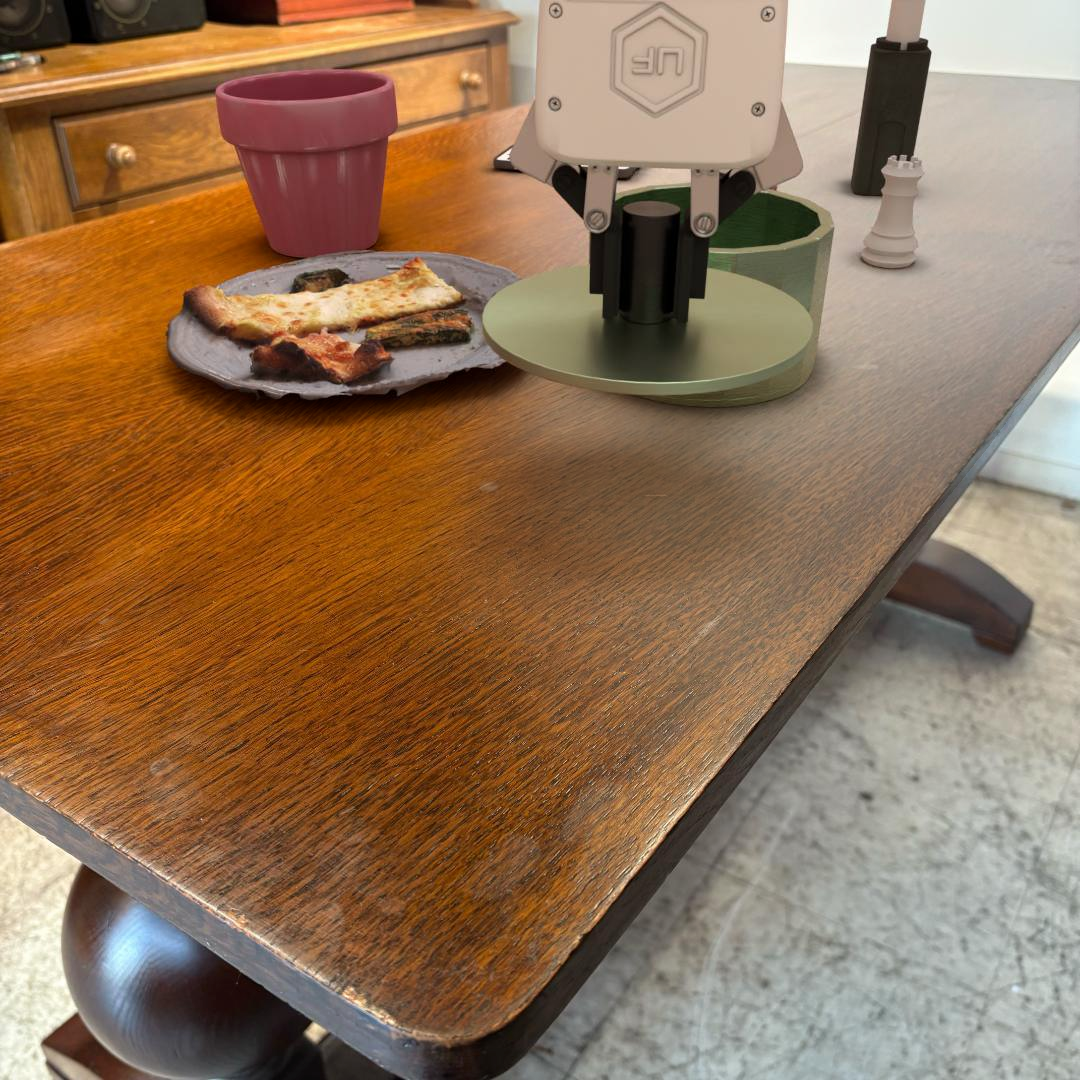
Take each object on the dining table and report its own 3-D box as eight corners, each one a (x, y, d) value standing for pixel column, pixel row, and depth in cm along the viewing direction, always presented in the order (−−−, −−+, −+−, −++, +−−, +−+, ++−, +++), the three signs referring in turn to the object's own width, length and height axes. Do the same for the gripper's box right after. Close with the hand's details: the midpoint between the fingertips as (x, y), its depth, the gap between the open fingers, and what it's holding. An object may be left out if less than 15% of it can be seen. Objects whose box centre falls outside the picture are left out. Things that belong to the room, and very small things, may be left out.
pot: (801, 309, 79) (818, 176, 74) (825, 434, 63) (850, 273, 58) (601, 300, 81) (605, 169, 76) (572, 420, 64) (574, 262, 59)
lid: (798, 289, 58) (814, 170, 55) (823, 418, 45) (846, 273, 42) (509, 277, 60) (507, 161, 56) (453, 398, 47) (446, 256, 43)
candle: (853, 195, 105) (898, -107, 91) (849, 181, 109) (892, -110, 96) (908, 197, 104) (961, -107, 91) (902, 183, 108) (952, -110, 95)
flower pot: (228, 228, 96) (203, 73, 90) (383, 211, 101) (370, 62, 94) (252, 279, 85) (226, 106, 78) (426, 257, 89) (415, 91, 82)
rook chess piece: (848, 256, 89) (863, 155, 85) (892, 249, 91) (909, 149, 87) (882, 272, 86) (900, 168, 82) (928, 265, 87) (947, 162, 83)
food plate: (199, 450, 61) (188, 393, 59) (149, 312, 79) (139, 265, 77) (599, 375, 70) (600, 323, 68) (471, 266, 88) (469, 222, 86)
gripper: (444, -148, 40) (463, 331, 49) (902, -148, 38) (827, 350, 48) (480, -149, 46) (491, 276, 56) (875, -149, 44) (814, 291, 54)
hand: (646, 306), depth 52 cm, fingers closed on lid, 2 cm apart
